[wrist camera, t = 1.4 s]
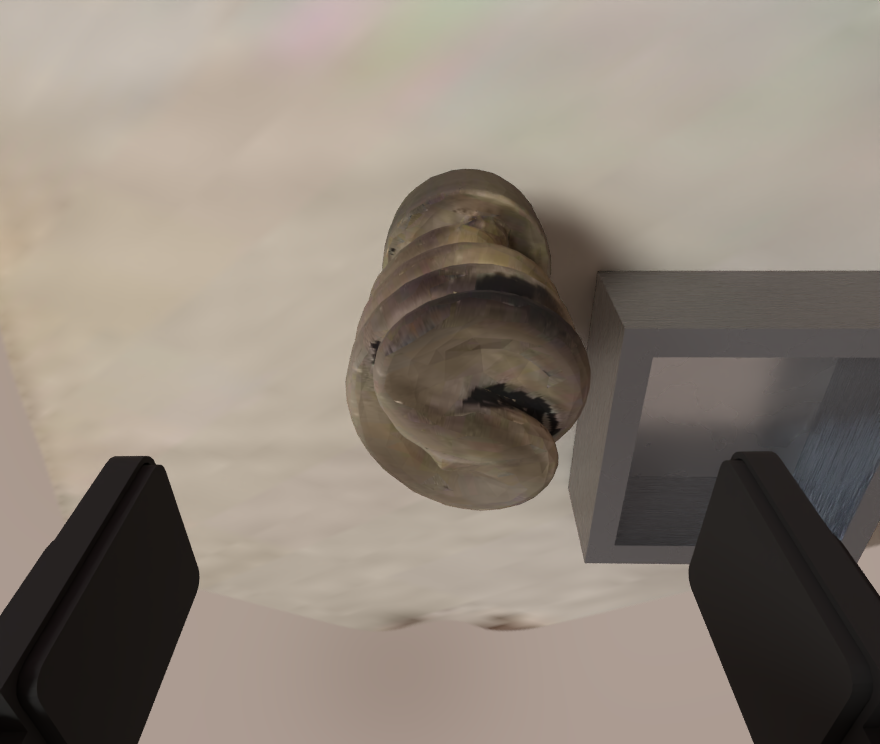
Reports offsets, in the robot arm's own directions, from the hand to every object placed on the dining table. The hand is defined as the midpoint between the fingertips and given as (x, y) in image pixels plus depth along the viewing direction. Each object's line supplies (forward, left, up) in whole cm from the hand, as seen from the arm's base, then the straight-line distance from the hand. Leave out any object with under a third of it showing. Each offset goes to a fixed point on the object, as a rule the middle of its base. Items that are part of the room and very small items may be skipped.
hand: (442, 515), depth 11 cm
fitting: (-12, +9, -17) cm, 23 cm away
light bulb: (0, 0, -17) cm, 17 cm away
